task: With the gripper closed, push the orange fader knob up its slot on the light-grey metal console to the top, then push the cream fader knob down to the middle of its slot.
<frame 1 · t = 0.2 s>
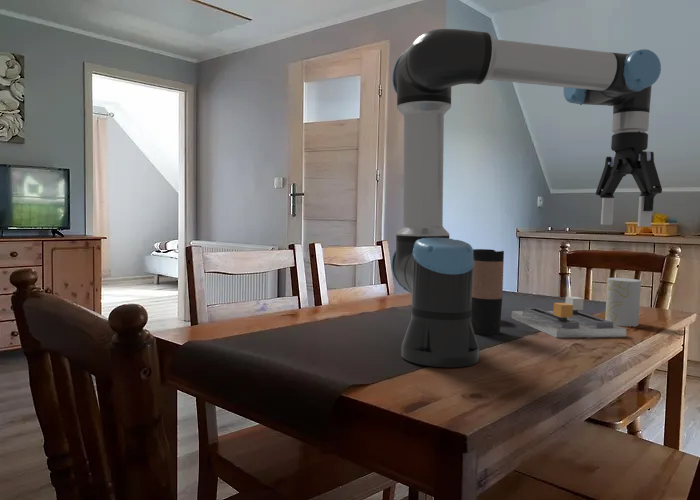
hand: (624, 225, 130), 27 cm above the table, fingers open, 13 cm apart
cup: (621, 324, 153), on the table
travel mug: (484, 332, 137), on the table
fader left: (562, 313, 138), point 5 cm above the table, slide at 1.0 cm
fader right: (574, 306, 149), point 5 cm above the table, slide at 11.0 cm
console: (564, 326, 146), on the table
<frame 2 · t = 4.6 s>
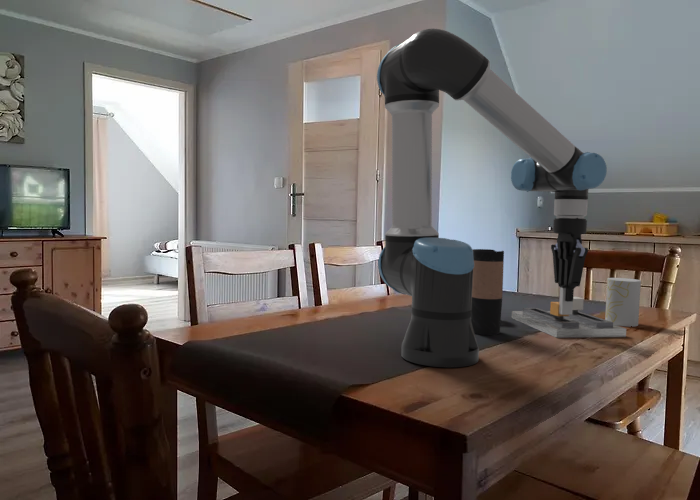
hand: (565, 313, 137), 5 cm above the table, fingers closed
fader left: (559, 312, 140), point 5 cm above the table, slide at 2.6 cm, touching gripper
everything else where it was.
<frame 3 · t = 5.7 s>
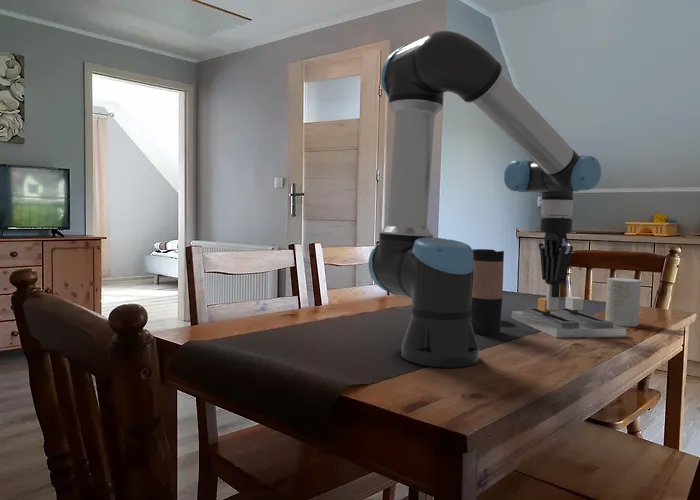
hand: (552, 309, 143), 5 cm above the table, fingers closed
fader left: (546, 308, 146), point 5 cm above the table, slide at 9.0 cm, touching gripper
everything else where it was.
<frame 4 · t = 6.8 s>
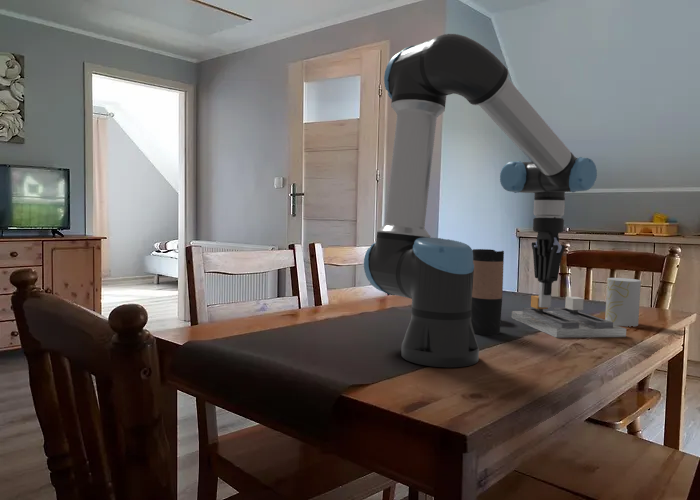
hand: (544, 306, 147), 5 cm above the table, fingers closed
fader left: (539, 305, 150), point 5 cm above the table, slide at 12.8 cm, touching gripper
everything else where it was.
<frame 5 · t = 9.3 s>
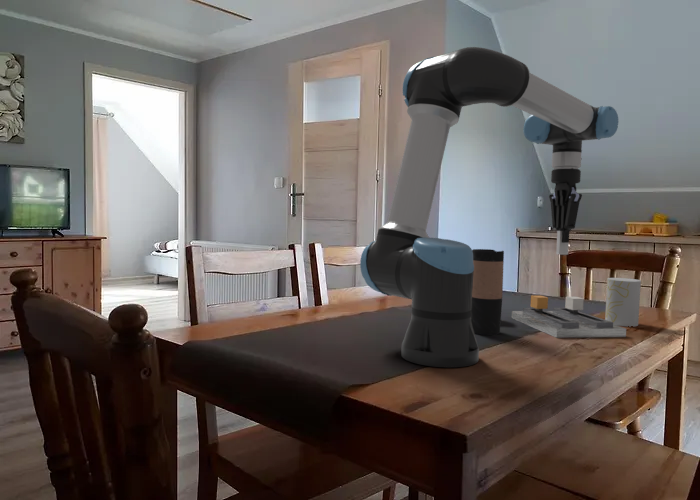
hand: (562, 254, 156), 18 cm above the table, fingers closed
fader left: (539, 305, 150), point 5 cm above the table, slide at 13.0 cm
everything else where it was.
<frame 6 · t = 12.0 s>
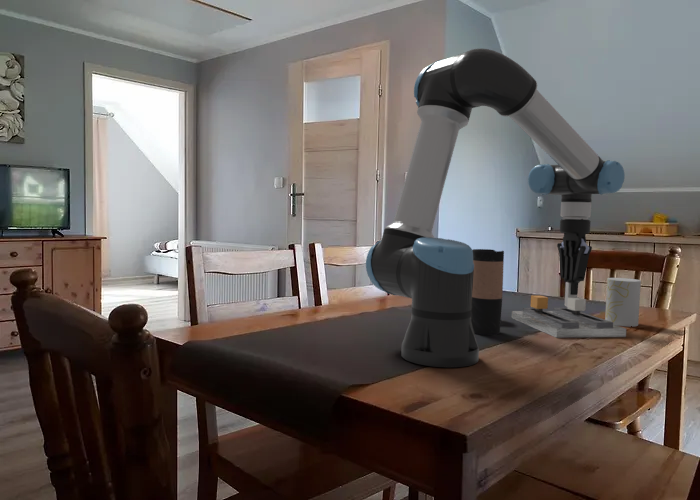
hand: (570, 306, 151), 5 cm above the table, fingers closed
fader right: (576, 307, 148), point 5 cm above the table, slide at 9.9 cm, touching gripper
everything else where it was.
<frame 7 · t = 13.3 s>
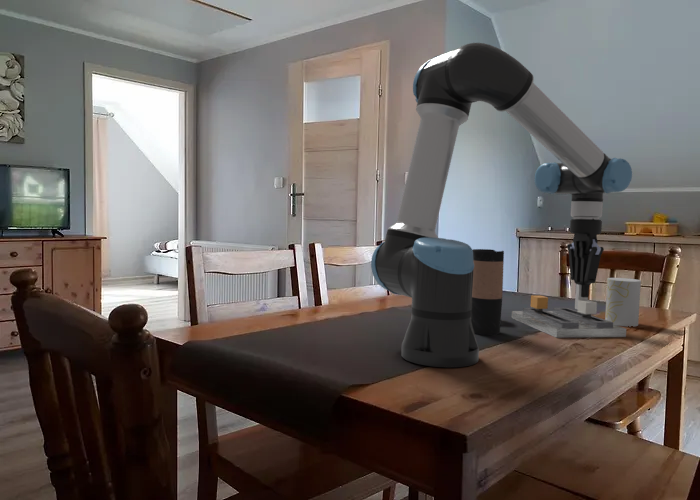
hand: (581, 309, 146), 5 cm above the table, fingers closed
fader right: (586, 310, 144), point 5 cm above the table, slide at 5.1 cm, touching gripper
everything else where it was.
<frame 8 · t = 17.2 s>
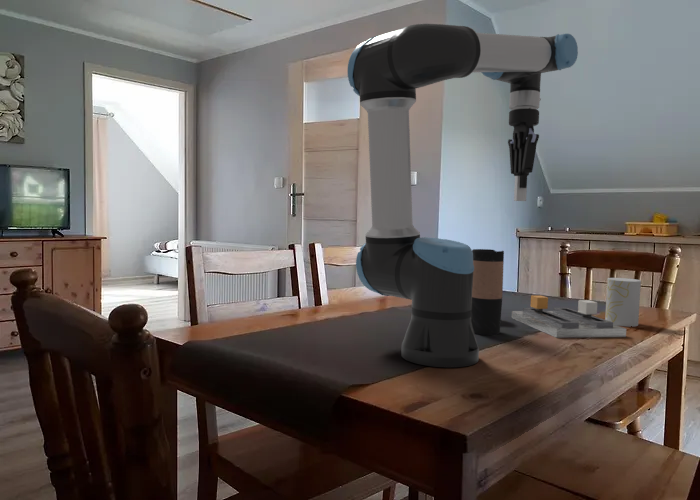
hand: (520, 200, 147), 32 cm above the table, fingers closed
fader right: (587, 310, 143), point 5 cm above the table, slide at 4.9 cm
everything else where it was.
at the end: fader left slide at 13.0 cm; fader right slide at 4.9 cm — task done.
